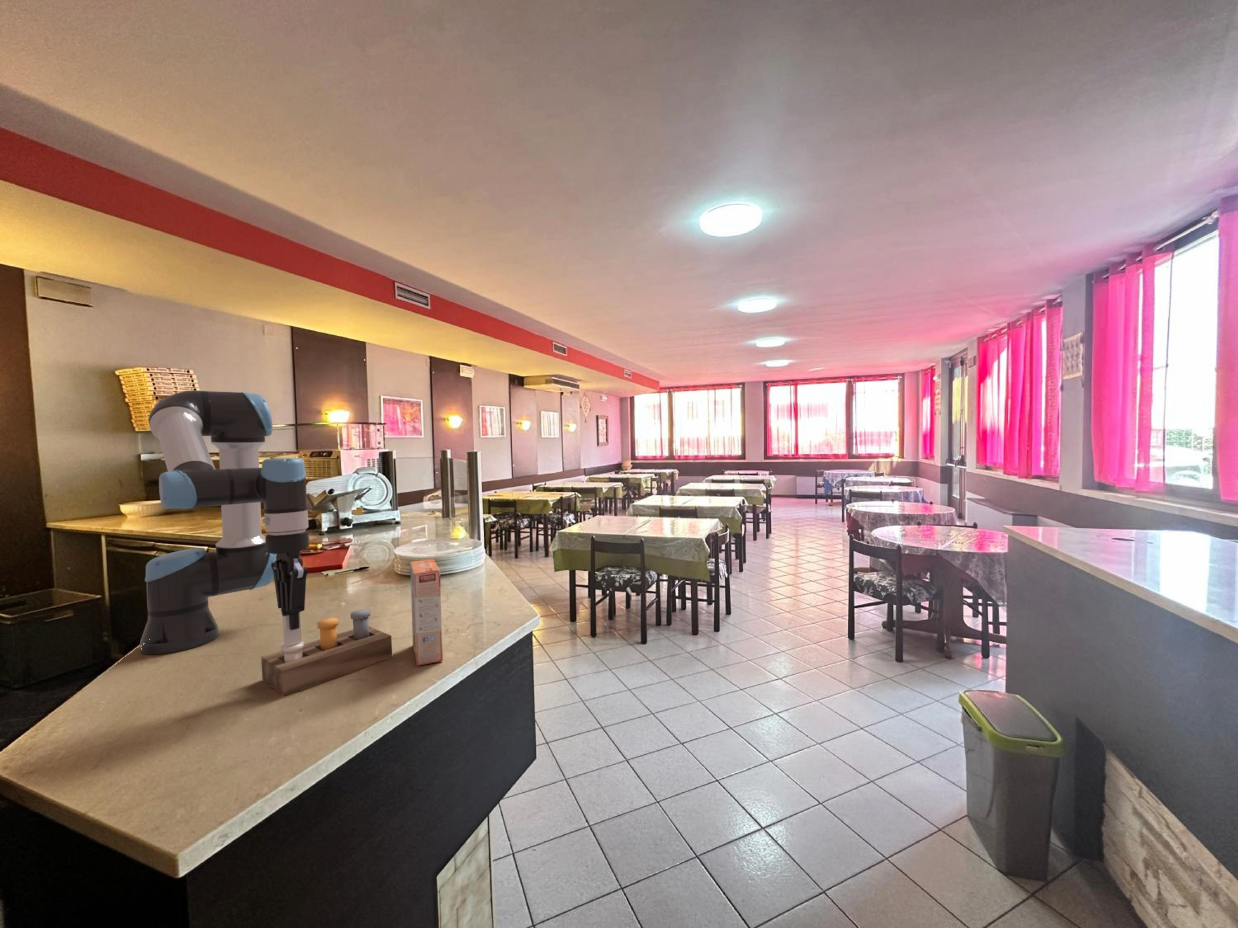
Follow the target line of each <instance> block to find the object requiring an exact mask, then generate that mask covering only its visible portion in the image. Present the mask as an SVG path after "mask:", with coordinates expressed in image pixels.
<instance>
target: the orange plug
mask: <svg viewBox="0 0 1238 928" xmlns="http://www.w3.org/2000/svg"><path fill="white" fill-rule="evenodd" d="M316 623H317V629H319V636H320V638H319V639H320V641H321V651H325V650H329V649H332V648H335V647H338V644H337V634H338V627H337V626H339V623H340V621H339V618H338V617H337V618H336V617H330V618H324V619H321V620H319V621H317V622H316Z"/></svg>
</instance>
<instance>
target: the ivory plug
mask: <svg viewBox="0 0 1238 928" xmlns="http://www.w3.org/2000/svg"><path fill="white" fill-rule="evenodd" d="M304 644H305V641H304V640H301V642H300V643H297V644H294V645H290V646H285V645H284V644H282V645H281V651H282V653H284V661H285V663H287V662H291V661H294V660H297V659H300V658H303V655H302V649H303V648H304Z"/></svg>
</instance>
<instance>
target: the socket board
mask: <svg viewBox="0 0 1238 928" xmlns="http://www.w3.org/2000/svg"><path fill="white" fill-rule="evenodd" d="M392 640H393V639H392V635H390V634H388V633H386V632H384V631H381V630H379V629H376V628H374V627H372V626H369V637H367V638H363V639H360V640H357V641H355V640H354V633H353V629H350V630H347V631H343V632H340V633H339V632H338V633H337V644H338V647H335V648H332V649H329V650H325V651H321V641H320V638H319V639H316V640H313V641H310V642H304V648H303V649H302V655H303V658H300V659H297V660H294V661H291V662H287V663H285V661H284V653H282V650H279V651H276V652H272V653H269V654H266V655H263V656H260V657H261V659H260V660H261V679H262V681H263V682H265V683H266V684H267V685H268V686H270V688H272V689H274V690H275V691H276V692H277V693H278V694H280V695H282V696H283V697H285V696H288V695H291V694H293V693H296V692H299V691H302V690H304V689H307V688H309V687H312V686H315V685H318V684H321V683H324V682H326V681H327V682H328V681H330V680H332V679H335V678H337V677H340V676H343V675H347V674H348V673H352V672H354V671H357V670H361V669H363V668H366V667H368V666H372V665H375V664H377V663H379V662H382V661H385V660H388V659H391V658H393V645H392V643H393V642H392Z"/></svg>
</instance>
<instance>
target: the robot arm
mask: <svg viewBox="0 0 1238 928" xmlns="http://www.w3.org/2000/svg"><path fill="white" fill-rule="evenodd" d="M271 414H272V413H271V411H270V407H269V404H268V402H267V400H266V399H265V398H264V397H263V396H262V395H261V394H259V393H250V392H249V393H248V392H242V391H241V392H234V391H233V392H232V391H212V390H211V391H209V390H208V391H207V390H206V391H205V390H196V389H195V390H184V391H179V392H176V393H173V394H170V395H168V396H166V397H165V398H163V399H162V400H159V402H157V404H155V405H154V406H153V408H152V409H151V411H150V413H149V416H148V427H149V430H150V432H151V433H152V435H153V436H154V437H155V438H156V439H158V440H159V444H160V447H161V448H160V449H161V452H162V454H163V457H164V463H165V465H166V469H167V471H165V472H162V473H160V475H159V478H158V490H159V491H158V492H159V493H158V494H159V498H160V504H161V506H162V507H163V508H164V509H167V510H168V509H169V510H174V509H175V510H176V509H177V510H178V509H185V510H189V509H193V508H194V509H195V508H205V507H206V508H207V507H216V506H217V507H218V506H221V507H220V508H221V528H222V529H221V530H222V531H221V532H222V537H221V539H220V540H219V541H217V542H216V543H215V551H210V552H207V550H206V549H205V548H204V547H196V548H187V549H182V550H177V551H174V552H170V553H166V554H162V555H159V556H157V557H154V558H152V559H151V560H149V561H148V562H147V563H146V565H145V578H144V582H146V598H147V599H146V600H147V622H146V624H145V627H144V630H143V633H142V635H141V638H140V642H139V650H140V649H141V648H142V650H141V651H140V653H141V654H143V655H162V654H170V653H175V652H180V651H185V650H189V649H192V648H196V647H199V646H203V645H206V644H208V643H210V642H213V641H214V640H215V639H217V638H218V637H219V635H220V633H219V631H220V630H219V625H218V623H217V620H216V619H215V617H214V615H213V614H212V611H211V609H210V607H209V598H212V597H215V596H220V595H227V594H232V593H238V592H243V591H247V590H249V591H252V590H254V589H258V588H262V587H266V586H268V585H269V584H271V583H272V581H273V580H274V581H273V582H274V586H275V595H276V602H277V608H278V609H280V612H281V616H282V628H283V629H282V630H283V645H285V646H290V645H294V644H297V643H300V642H301V641H302V627H301V625H302V624H301V623H302V622H301V612H304V611H305V609H306V607H305V606H306V584H307V576H308V571H309V570H308V567H307V566H305V567H303V566H304V562H303V558H302V556H301V552H302V551H305V550H307V549H308V548H310V547H309V546H310V539H309V538H310V537H309V532H308V531H307V529H308V528H309V512H308V511H309V510H308V503H307V502H308V498H307V495H308V494H307V471H306V467H305V465H306V464H305V461H304V459H302V458H301V457H283V458H265V459H263V461H262V462H261V467H260V453H259V452H260V451H259V449H260V448H261V447H262V446H263V445H264V444H265V443H266V437H270V436H271V435H272V434H273V420H272V415H271ZM204 437H210V443H211V444H212V445H213V446H214V447H216V448H217V449H218V455H219V456H218V457H219V469H217V468H216V467H215V464H214V462H213V460H212V456H211V454H210V452H209V449H208V448H207V447H208V446H207V445H206V442H205V439H204ZM261 503H263V513H264V515H263V516H264V518H262V512H261V511H262V510H261V508H262V507H261V505H262V504H261ZM262 524H264V531H265V532H266V533H268V534H267V535H266V536H265V535H264V534H263V533H262ZM149 639H150V640H149ZM143 643H145V644H144V645H143ZM141 645H142V647H141V648H140V646H141Z"/></svg>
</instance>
